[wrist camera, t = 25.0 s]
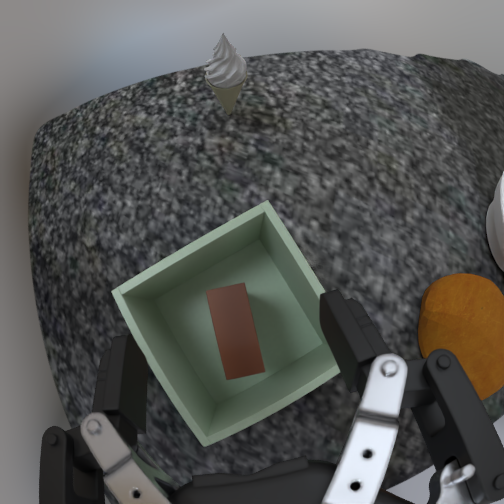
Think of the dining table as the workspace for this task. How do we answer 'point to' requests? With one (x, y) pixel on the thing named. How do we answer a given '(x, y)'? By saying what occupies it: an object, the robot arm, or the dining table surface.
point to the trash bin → (202, 331)
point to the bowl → (496, 224)
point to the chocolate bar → (235, 331)
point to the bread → (466, 327)
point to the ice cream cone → (226, 73)
